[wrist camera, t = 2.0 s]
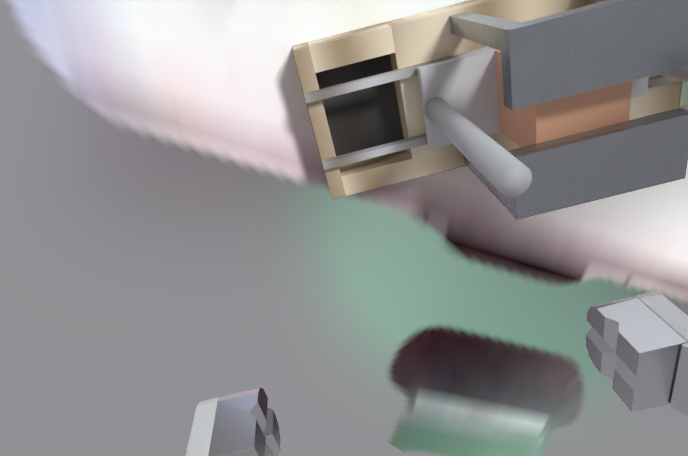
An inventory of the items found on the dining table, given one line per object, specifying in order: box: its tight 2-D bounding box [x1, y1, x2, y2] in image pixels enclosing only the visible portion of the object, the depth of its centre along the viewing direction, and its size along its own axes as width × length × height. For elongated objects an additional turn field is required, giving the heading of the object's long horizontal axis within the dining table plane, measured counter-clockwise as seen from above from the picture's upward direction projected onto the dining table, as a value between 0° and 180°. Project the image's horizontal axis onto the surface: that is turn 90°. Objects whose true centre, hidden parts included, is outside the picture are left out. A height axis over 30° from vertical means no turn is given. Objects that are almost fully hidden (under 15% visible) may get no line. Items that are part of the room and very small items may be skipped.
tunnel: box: [449, 0, 688, 219], centre depth 26 cm, size 9×10×8 cm
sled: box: [417, 48, 688, 197], centre depth 23 cm, size 14×5×12 cm, turn 103°
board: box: [293, 0, 688, 199], centre depth 30 cm, size 31×10×3 cm, turn 103°
